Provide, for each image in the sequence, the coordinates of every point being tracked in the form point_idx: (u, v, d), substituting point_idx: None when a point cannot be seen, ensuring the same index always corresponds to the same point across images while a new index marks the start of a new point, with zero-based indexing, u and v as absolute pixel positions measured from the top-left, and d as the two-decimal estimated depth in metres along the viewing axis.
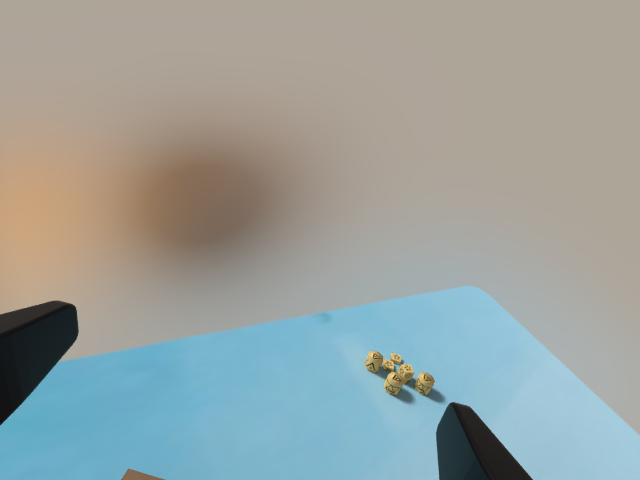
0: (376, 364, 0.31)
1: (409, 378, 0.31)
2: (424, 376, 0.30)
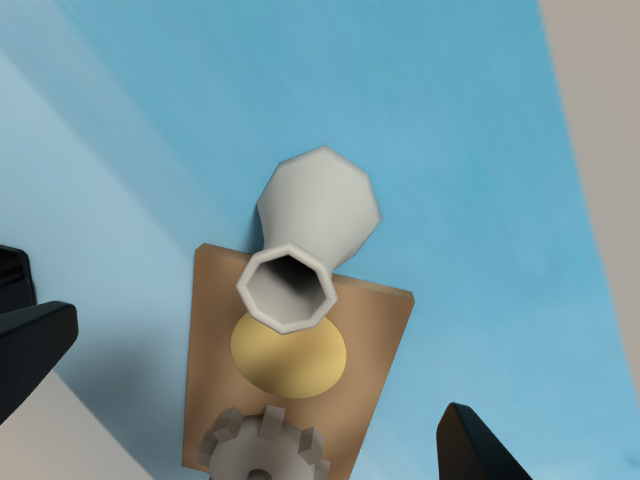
0: None
1: None
2: None
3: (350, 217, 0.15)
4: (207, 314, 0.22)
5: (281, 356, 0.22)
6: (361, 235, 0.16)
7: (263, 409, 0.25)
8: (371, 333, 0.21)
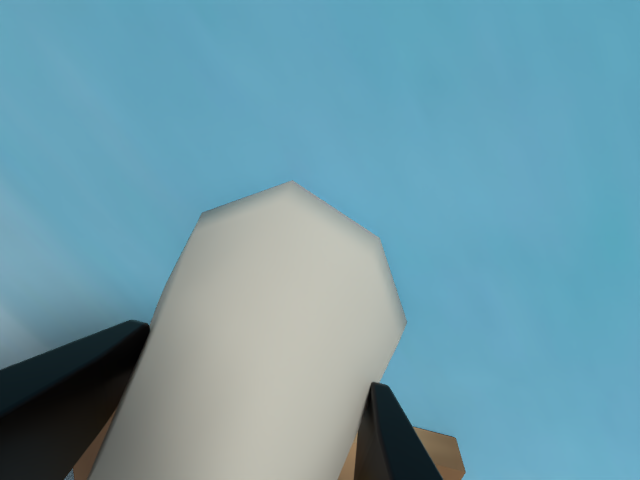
0: None
1: None
2: None
3: (337, 386, 0.06)
4: None
5: None
6: (365, 407, 0.07)
7: None
8: None
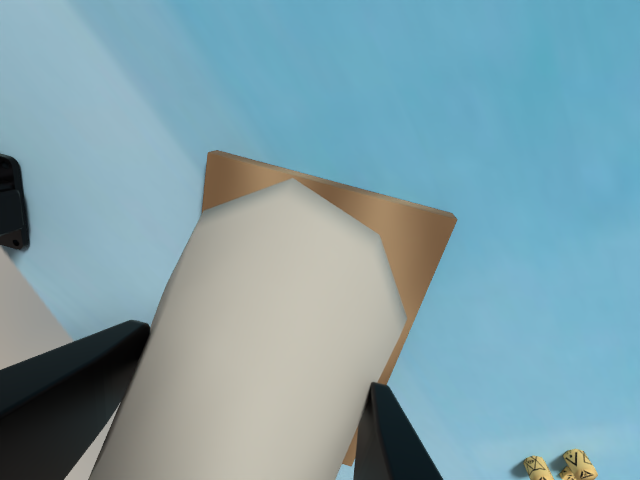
0: (572, 467, 0.23)
1: None
2: None
3: (337, 380, 0.06)
4: None
5: None
6: (366, 401, 0.07)
7: None
8: (403, 258, 0.18)
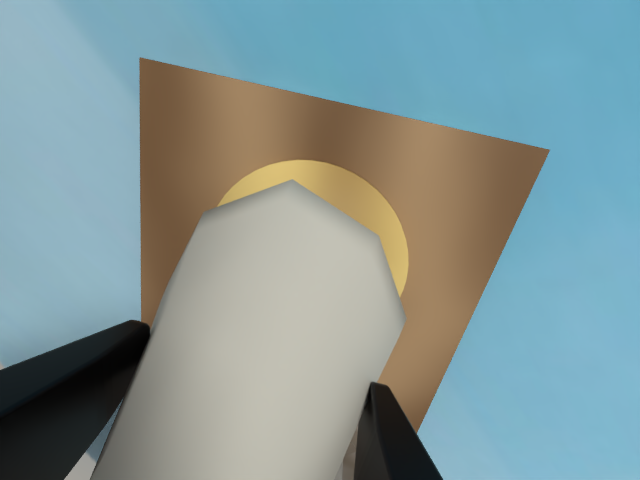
0: None
1: None
2: None
3: (337, 379, 0.06)
4: (167, 194, 0.13)
5: None
6: (365, 401, 0.07)
7: None
8: (457, 221, 0.12)
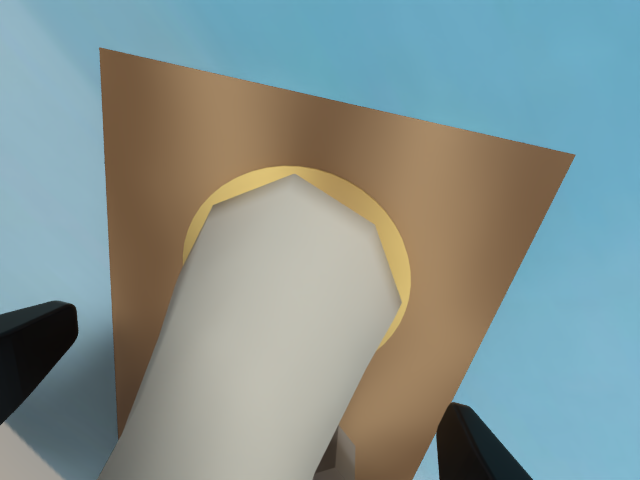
0: None
1: None
2: None
3: (337, 348, 0.07)
4: (137, 204, 0.11)
5: None
6: (363, 371, 0.08)
7: None
8: (466, 236, 0.10)
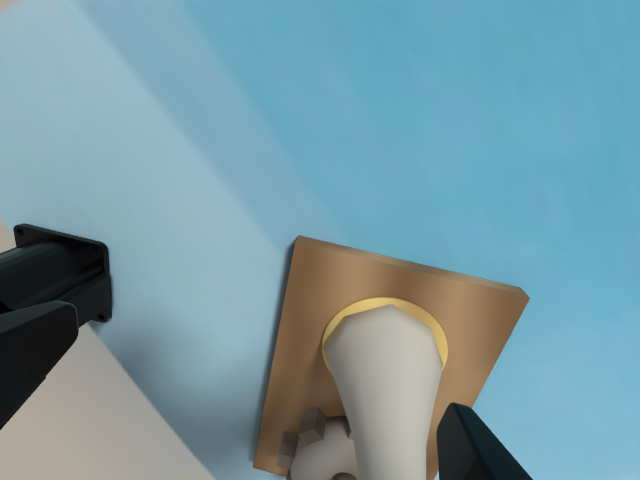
0: None
1: None
2: None
3: (426, 397, 0.16)
4: (299, 310, 0.21)
5: None
6: (433, 405, 0.17)
7: None
8: (477, 331, 0.20)
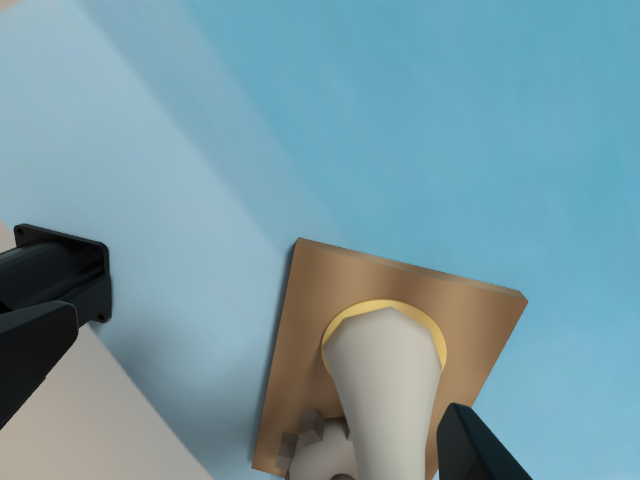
0: None
1: None
2: None
3: (425, 400, 0.17)
4: (299, 312, 0.21)
5: None
6: (432, 407, 0.17)
7: None
8: (475, 334, 0.20)
